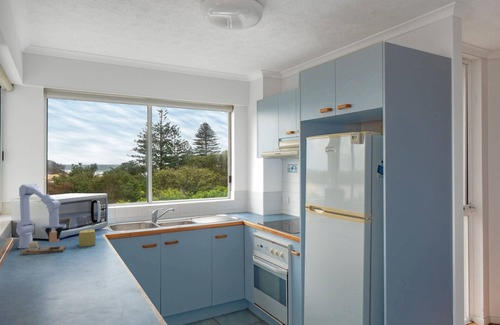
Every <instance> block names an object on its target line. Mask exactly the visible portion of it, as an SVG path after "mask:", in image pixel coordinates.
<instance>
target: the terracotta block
mask: <svg viewBox="0 0 500 325" xmlns="http://www.w3.org/2000/svg"><path fill="white" fill-rule="evenodd" d="M48 240H49V241H48V242H49V243H58V242H59V241H60V238H59V239H57V230H51V232H49V238H48Z"/></svg>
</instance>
